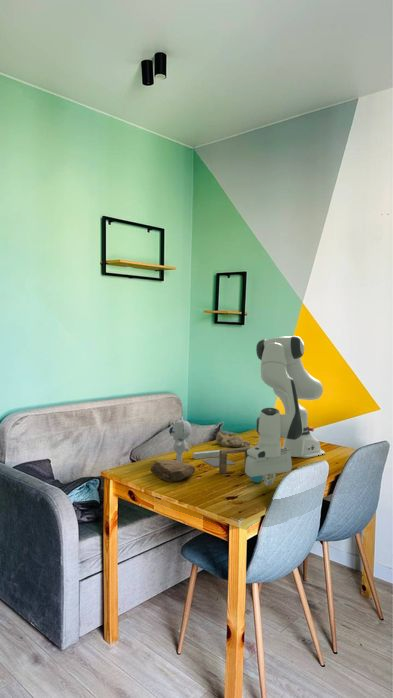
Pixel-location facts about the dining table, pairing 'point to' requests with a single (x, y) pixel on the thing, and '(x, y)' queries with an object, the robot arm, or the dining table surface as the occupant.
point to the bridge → (224, 457)
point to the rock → (172, 470)
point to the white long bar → (206, 454)
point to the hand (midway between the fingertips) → (268, 484)
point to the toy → (180, 436)
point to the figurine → (231, 441)
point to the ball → (256, 479)
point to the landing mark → (216, 462)
